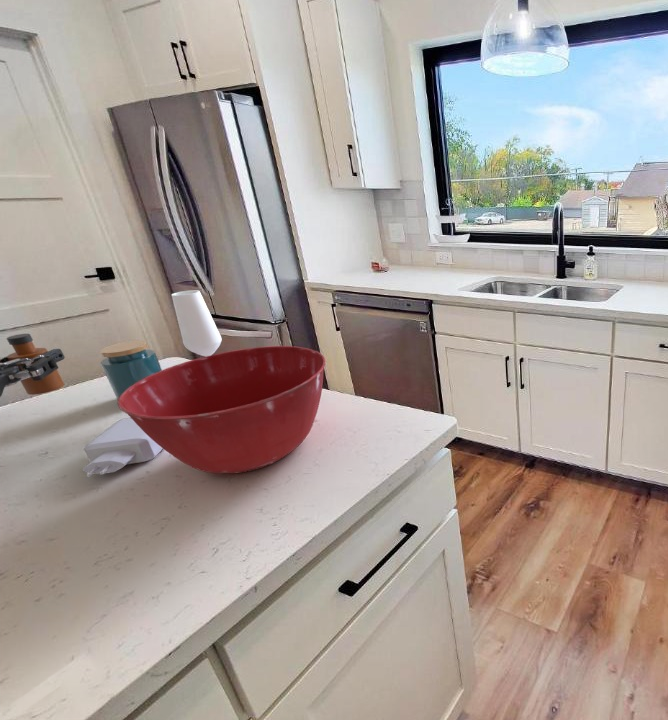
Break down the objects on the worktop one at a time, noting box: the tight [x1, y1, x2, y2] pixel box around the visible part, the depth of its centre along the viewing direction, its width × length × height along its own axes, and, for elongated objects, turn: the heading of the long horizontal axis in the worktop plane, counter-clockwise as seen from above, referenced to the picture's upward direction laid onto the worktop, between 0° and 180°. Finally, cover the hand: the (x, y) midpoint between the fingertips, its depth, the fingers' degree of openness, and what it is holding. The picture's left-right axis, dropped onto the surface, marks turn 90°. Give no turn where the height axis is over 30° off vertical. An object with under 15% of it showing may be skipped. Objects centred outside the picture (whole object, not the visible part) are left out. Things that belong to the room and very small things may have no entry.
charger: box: [82, 417, 164, 477], centre depth 73 cm, size 5×9×15 cm
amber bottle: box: [6, 333, 65, 396], centre depth 77 cm, size 5×5×11 cm
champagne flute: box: [171, 289, 222, 357], centre depth 93 cm, size 7×7×24 cm
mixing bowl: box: [117, 345, 326, 474], centre depth 73 cm, size 28×28×16 cm
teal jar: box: [99, 340, 163, 401], centre depth 94 cm, size 9×9×12 cm
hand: (43, 354), depth 79 cm, fingers closed on amber bottle, 4 cm apart
